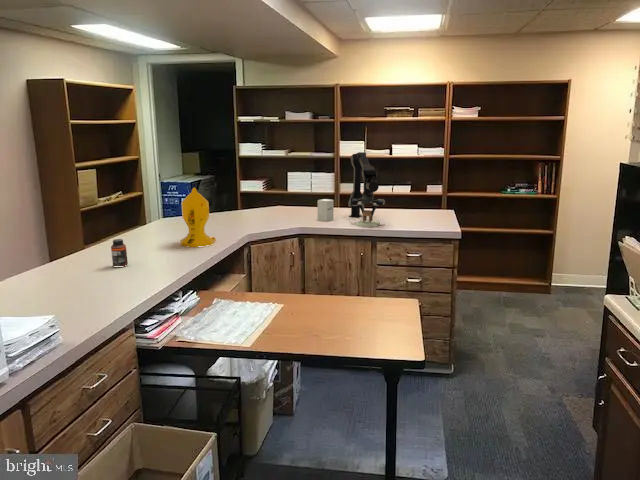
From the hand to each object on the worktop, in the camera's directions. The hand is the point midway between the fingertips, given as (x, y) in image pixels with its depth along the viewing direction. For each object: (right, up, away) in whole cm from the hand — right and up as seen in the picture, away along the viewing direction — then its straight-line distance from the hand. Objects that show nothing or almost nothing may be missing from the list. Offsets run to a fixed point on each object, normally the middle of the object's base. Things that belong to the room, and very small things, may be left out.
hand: (367, 216), depth 306 cm
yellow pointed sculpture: (-89, -16, -46) cm, 101 cm away
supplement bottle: (-112, -25, -87) cm, 144 cm away
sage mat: (0, -5, +1) cm, 5 cm away
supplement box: (-25, -2, +15) cm, 29 cm away
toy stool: (0, -3, +1) cm, 3 cm away
